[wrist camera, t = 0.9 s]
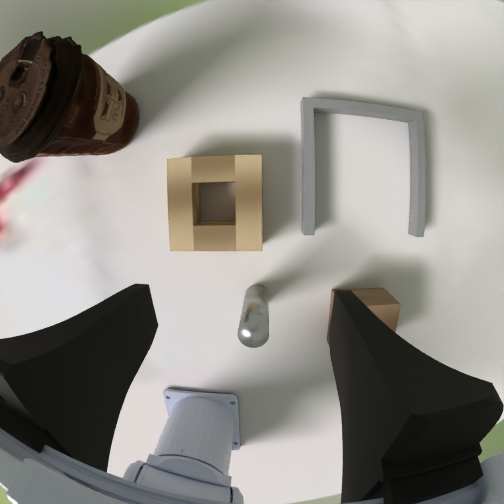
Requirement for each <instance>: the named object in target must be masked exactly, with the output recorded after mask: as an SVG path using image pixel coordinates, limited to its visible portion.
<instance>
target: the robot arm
mask: <svg viewBox="0 0 504 504" xmlns="http://www.w3.org/2000/svg"><path fill="white" fill-rule="evenodd" d="M157 328H158V322H157V318H156V314H155V310H154V306H153V302H152V297H151V293H150V288H149V285H148V284H134V285H131V286H129V287H127V288H125V289H123V290H121V291H120V292H118V293H116V294H114V295H112V296H111V297H109V298H107V299H105V300H104V301H102V302H100V303H98V304H97V305H95V306H93V307H91V308H89V309H87V310H85V311H83V312H81V313H80V314H78V315H76V316H74V317H72V318H69V319H67V320H65V321H63V322H60V323H58V324H55V325H53V326H50V327H47V328H44V329H41V330H38V331H35V332H32V333H28V334H24V335H20V336H15V337H11V338H4V339H0V485H1V486H2V487H3V488H4V489H5V490H7V496H8V499H9V500H10V501H11V502H12V503H13V504H244V499H243V495H242V494H241V492H240V491H239V489H238V488H237V487H230V485H231V478H232V477H231V476H228V471H229V464H230V457H231V450H239V449H240V432H239V415H238V398H237V396H236V395H233V394H217V393H203V392H192V391H182V390H173V389H165V390H164V391H163V395H164V399H165V404H166V408H167V412H168V416H169V417H168V419H167V422H166V424H165V427H164V429H163V432H162V434H161V436H160V439H159V441H158V444H157V446H156V449H155V451H154V454H153V455H152V454H149V456H148V459H147V461H146V464H145V462H143V461H140V460H138V461H136V462H135V463H132V464H130V465H129V467H128V468H127V470H126V472H125V474H124V476H123V478H120V477H117V476H114V475H112V474H109V473H107V467H108V461H109V454H110V449H111V444H112V440H113V436H114V431H115V428H116V424H117V421H118V417H119V414H120V411H121V408H122V405H123V402H124V400H125V397H126V394H127V392H128V389H129V387H130V385H131V383H132V381H133V379H134V377H135V375H136V374H137V372H138V370H139V368H140V366H141V364H142V362H143V360H144V358H145V356H146V355H147V353H148V351H149V349H150V347H151V345H152V342H153V339H154V337H155V334H156V331H157ZM329 345H330V356H331V361H332V366H333V371H334V376H335V381H336V385H337V390H338V396H339V401H340V407H341V418H342V439H343V475H342V494H341V504H504V451H502V452H500V453H498V454H496V455H494V456H491V457H490V458H488V459H486V460H484V461H483V462H481V463H480V462H479V459H478V455H480V454H481V452H482V449H481V446H480V444H479V443H480V442H481V440H482V439H483V438H484V437H485V436H486V435H487V434H488V433H489V432H490V430H491V429H492V428H493V427H494V426H495V424H496V423H497V422H498V420H499V419H500V417H501V415H502V412H503V403H502V401H501V399H500V397H499V395H498V393H497V391H496V390H495V388H494V386H493V384H492V383H490V382H487V381H484V380H481V379H478V378H475V377H472V376H469V375H467V374H464V373H462V372H459V371H457V370H455V369H453V368H450V367H448V366H446V365H444V364H442V363H440V362H438V361H437V360H435V359H433V358H431V357H430V356H428V355H426V354H425V353H423V352H421V351H420V350H418V349H417V348H415V347H414V346H412V345H411V344H410V343H408V342H407V341H405V340H404V339H403V338H401V337H400V336H399V335H398V334H396V333H395V332H394V331H393V330H392V329H390V328H389V327H388V326H387V325H386V324H385V323H384V322H382V321H381V320H380V319H379V318H378V317H377V316H376V315H375V314H374V313H373V312H372V311H371V310H370V309H369V308H368V307H367V306H366V305H365V304H364V303H363V302H362V301H361V300H360V299H359V298H358V297H357V296H356V295H355V294H354V293H353V292H352V291H351V290H335V292H334V300H333V307H332V314H331V321H330V328H329ZM168 396H169V397H168ZM232 402H234V403H232ZM89 488H90V489H89ZM91 489H92V490H91ZM98 492H99V493H98ZM103 494H104V495H103ZM108 496H109V497H108ZM113 498H114V499H113Z"/></svg>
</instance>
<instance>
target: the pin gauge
mask: <svg viewBox="0 0 504 504" xmlns="http://www.w3.org/2000/svg"><path fill="white" fill-rule="evenodd" d="M238 338H239V340H240V342H241V343H242V344H244V345H245V346H247V347H251V348H256V347H260V346H262V345H264V344H265V343H266V342H267V340H268V338H269V296H268V291H267V290H266V288H265V287H263V286H261V285H252V286H250V287H249V288H248V289H247V291H246V293H245V298H244V303H243V308H242V314H241V319H240V324H239V329H238Z"/></svg>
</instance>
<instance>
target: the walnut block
mask: <svg viewBox="0 0 504 504" xmlns="http://www.w3.org/2000/svg"><path fill="white" fill-rule="evenodd" d="M335 290H351V291H352V292H353V293H354V294H355V295H356V296H357V297H358V298H359V299H360V300H361V301H362V302H363V303H364V304H365V305H366V306H367V307H368V308H369V309H370V310H371V311H372V312H373V313H374V314H375V315H376V316H377V317H378V318H379V319H380V320H381V321H382V322H384V323H385V324H386V325H387V326H388V327H389V328H390V329H392V330H393V331H394V332H395V331H396V326H397V321H398V315H399V310H400V303H399V302H398V301H397V300H396V299H395V298H394V297H393V296H392V295H390V294H389V293H388V292H387V291H386V290H385V289H384V288H370V289H335ZM335 290H331V303H330V314H329V324H328V334H327V341H328V344H329V328H330V321H331V314H332V307H333V300H334V292H335ZM329 347H330V345H329Z"/></svg>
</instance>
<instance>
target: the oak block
mask: <svg viewBox="0 0 504 504" xmlns="http://www.w3.org/2000/svg"><path fill="white" fill-rule="evenodd" d="M211 182H235V207H236V221H211V222H200V183H211ZM167 193H168V220H169V238H170V251H262V247H263V209H262V155H222V156H201V157H185V158H172V159H167Z"/></svg>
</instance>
